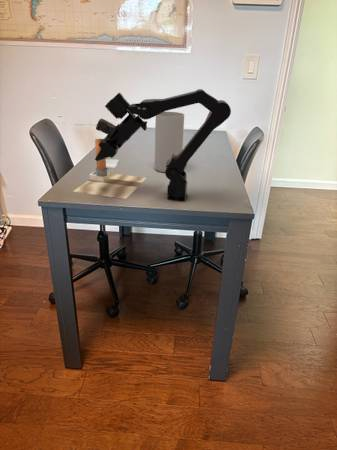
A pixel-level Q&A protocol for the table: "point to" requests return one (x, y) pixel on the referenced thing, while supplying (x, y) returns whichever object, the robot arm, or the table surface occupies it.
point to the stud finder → (97, 177)
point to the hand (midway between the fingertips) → (97, 158)
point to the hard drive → (111, 163)
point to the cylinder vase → (168, 137)
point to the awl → (100, 161)
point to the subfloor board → (112, 186)
